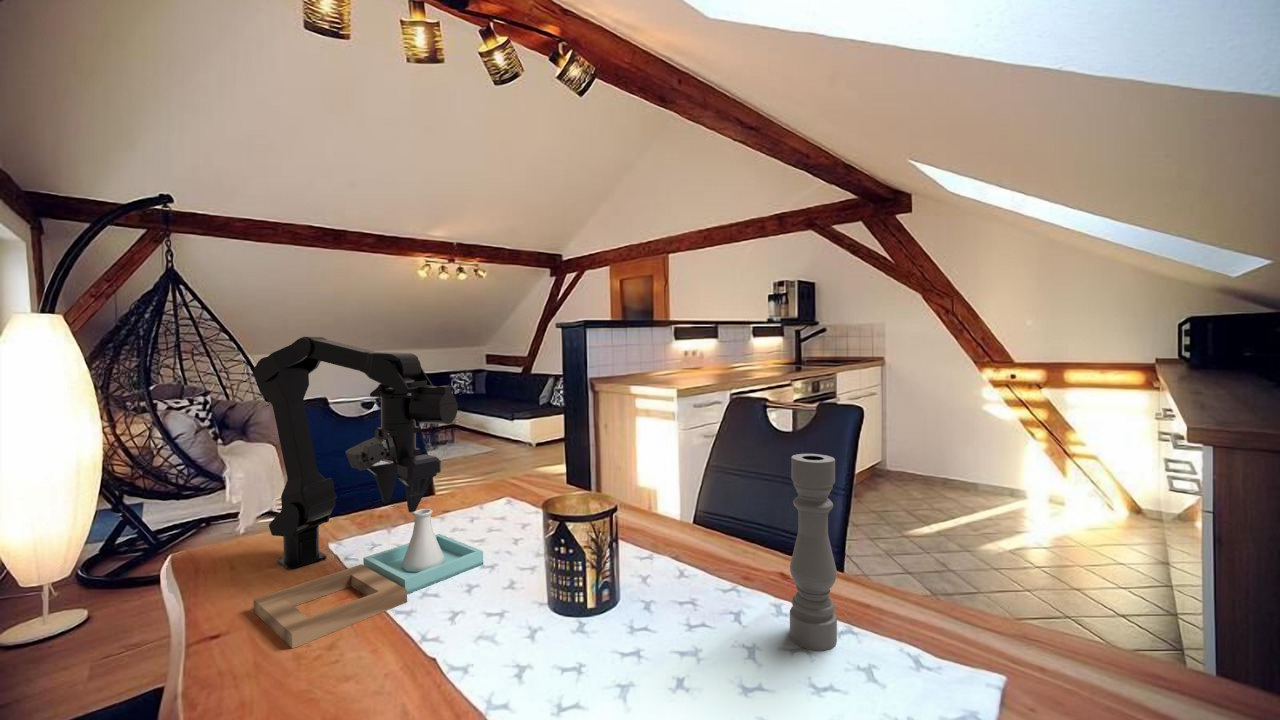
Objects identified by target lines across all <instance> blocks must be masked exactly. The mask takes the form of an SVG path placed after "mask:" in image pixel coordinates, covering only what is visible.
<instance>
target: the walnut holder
mask: <svg viewBox="0 0 1280 720" xmlns="http://www.w3.org/2000/svg"><path fill="white" fill-rule="evenodd" d="M350 587H352V588H353V589H355V590H357V591H358V592H359V593H361V594H363V595H364V596H363V597H361V598H358V599H354V600H352V601H349V602H347V603H344V604H342V605H339V606H337V607H333V608H330V609H328V610H326V611H323V612H320V613H318V614H315V615H312V616H309V617H308V616H307V615H305V614H304V613H303V612H302V611H300V610H299V608H297V606H299V605H302V604H305V603H308V602H311V601H313V600H316V599H319V598H321V597H322V598H323V597H325V596H327V595H330V594H333V593H336V592H339V591H342V590H346V589H348V588H350ZM406 603H408V594H407V589H405V588H403V587H401V586H399V585H398V584H396V583H394V582H392V581H390V580H389V579H387V578H385V577H383V576H381V575H380V574H378V573H376V572H374V571H372V570H371V569H369V568H367V567H365V566H363V564H358V565H355V566H352V567H349V568H347V569H343V570H340V571H337V572H334V573H331V574H328V575H324V576H322V577H321V576H320V577H318V578H315V579H311V580H309V581H306V582H302V583H300V584H297V585H293V586H291V587H288V588H284V589H281V590H279V591H275V592H272V593H268V594H266V595H265V594H264V595H263V596H259V597H257V598H253V612H254V614H255V615H256V616H257V617H259V618H260V619H261V620H262V621H263V622H264V623H265V624H266V625H267V626H268V627H269V628H270V629H271V630H272V631H273V632H274V633H275V634H277V636H278V637H280V639H282V640H283V642H284V643H286V644H287V645H288V646H289V647H290V648H291V649H296V648H297V647H300V646H302V645H305V644H307V643H310V642H312V641H315V640H317V639H320V638H322V637H325V636H327V635H330V634H333V633H334V632H337V631H339V630H342V629H344V628H347V627H349V626H351V625H355V624H357V623H359V622H361V621H364V620H368V619H369V618H371V617H374V616H376V615H378V614H381V613H384V612H386V611H388V610H391V609H393V608H395V607H396V608H397V607H399V606H401V605H403V604H406Z"/></svg>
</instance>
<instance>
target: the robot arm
mask: <svg viewBox="0 0 1280 720" xmlns="http://www.w3.org/2000/svg"><path fill="white" fill-rule="evenodd" d="M321 362H324V363H327V364H331V365H336V366H339V367H341V368H342V367H343V368H348V369H350V370H353V371H354V370H355V371H358V372H361V373H363V374H365V375H366V376H367V377H368V378H369V379H371V380H372V381H374V382H376V383H379V384H378V386H377V387H376V388H375V389H373V390H372V391H371V392H370V393H369V396H370V397H371V398H380V412H381V413H380V420H381V421H380V426H381V427H376V429H375V430H374V437H371V438H369V439H367V440H364V441H362V442H360V443H358V444H357V445H354V446H352V447H350V448H348V449H347V450H345V453H344V454H345V455H346V457H347V460H348V462H349V465H350V467H351V468H352V469H356V470H358V471H360V472H361V471H363V472H364V471H366V470H367V471H369V472H370V473H372V474H373V476H374V479H375V482H376V484H377V487H378V490H379V491H378V492H379V493H380V496H381V499H382V502H383V503H388V502H390V501H391V499H392V497H393V492H394V490H395V489H394V488H395V485H396V481H397V480H399V481H400V482H401V483H402V484H404V488H405V496H406V504H407V511H408V513H413V512H415V511H416V510H418V507H419V505H420V503H421V500H422V499H423V497H424V494H425V493H426V491H427V489H428V487H429V486H430V483H431V482H432V481H433V478H434V477H437V475H438V474H440V473H441V472H442V461H441V459H439V458H438V457H437V456H435V455H430V454H426V453H425V454H421V453H422V452H421V450H422V449H421V448H419V447H416V445H417V442H416V441H417V437H416V436H417V433H421V426H417V425H416V424H417V423H419V424H435V425H450V424H452V423H453V422H454V421H455V419H456V418H457V414H458V409H459V405H458V402H457V398H456V396H455V395H454V393H452V387H451V385H440V386H435V385H434V384H433V383H432V381H431V380H430V378H429V377H428V375H427V374H426V372H425V371H424V369H423V368H422V364H421V362H420V360H419V357H418V356H417V355H416V354H414V353H411V352H393V351H392V352H391V351H387V352H386V351H375V350H370V349H366V348H363V347H359V346H354V345H350V344H346V343H342V342H339V341H338V342H337V341H334V340H330V339H327V338H325V337H323V336H302V337H299V338H297V340H295V341H294V342H292V343H291V344H289V345H286V346H285V347H283V348H280V349H278V350H276V351H274V352H272V353H270V354H269V355H268V356H264V357H262V358H260V359H259V360H258V362H257V363H256V365H255V366H254V367H253V377H254V380H255V382H256V386H257V388H258V391H259V393H260V395H262V396H263V397H264V398H265V399H266V400H267V401H268V402H269V404H271V407H272V410H273V415H274V420H275V425H276V430H277V434H278V439H279V444H280V449H281V454H282V459H283V464H284V467H285V474H286V479H287V480H286V483H285V486H284V488H283V491H282V493H281V495H280V497H281V498H280V500H281V501H280V502H281V503H280V504H281V510H280V512H279V513H278V514H276V516H275V517H274V518H273V519H272V521H270V523H268V527H269V531H270V534H271V536H274V537H282V538H283V539H282V541H283V556H282V557H279V558H276V562H277V563H279V565H281V566H282V567H284V568H286V569H287V570H293V569H296V568H299V567H303V566H307V565H309V564H313V563H315V562H319V561H323V560H326V559H327V556H328V555H327V554H324V553H323V552H321V551H320V525H323V524H325V523H328V522H329V521H330V518H331V514H332V513H333V510H334V508H336V503H337V502H336V499H338V495H337V493H336V491H335V481H334V480H333V478H332V477H329V478H325V477H324V476H323V475H322V474H321V473H320V472H319V470H318V465H317V459H316V455H315V451H314V445H313V441H312V437H311V436H312V435H311V430H310V426H309V422H308V417H307V412H306V407H305V402H304V401H305V400H304V399H305V396H306V394H307V391H308V389H309V387H310V379H309V378H310V377H309V376H310V375H309V374H311V373H313V372H314V371H315V370H316V369H318V368H319V366H320V363H321ZM416 422H417V423H416ZM398 475H399V476H398Z"/></svg>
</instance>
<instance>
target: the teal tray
mask: <svg viewBox="0 0 1280 720" xmlns="http://www.w3.org/2000/svg"><path fill="white" fill-rule="evenodd" d="M435 537H436V539H437V542H438V544H439V546H440V548H441V551H442V553H443V555H444V557H445V560H446V561H445V562H443V563H442V564H440V565H437V566H434V567H432V568H429V569H426V570H424V571H421V572H411V571H406V570H405V569H403V568H402V567H401V565H402V562H403V559H404V557H405V554H406V551H407V549H408V546H409V543H410V542H409V543H405V544H402V545H399V546H397V547H393V548H390V549H386V550H384V551H380V552H377V553H374V554H371V555H368V556H365V557H363V558H362V559H363V560H362V561H363V564H362V565H363V566H365V567H367V568H369V569H371V570H372V571H374V572H376V573H378V574H380V575H381V576H383V577H385V578H387V579H389V580H390V581H392V582H394V583H396V584H398V585H399V586H401V587H403V588H405V589H407V595H408V594H412V593H414V592H417V591H420V590H422V589H424V588H426V587H427V588H428V587H429V586H432V585H434V584H437V583H440V582H443V581H444V580H447V579H450V578H452V577H455V576H457V575H460V574H462V573H465V572H467V571H470V570H472V569H475V568H478V567H480V566H482V565H484V551H483V550H482V549H480V548H476V547H474V546H471V545H468V544H466V543H465V542H461V541H459V540H456V539H454V538H452V537H448V536H447V535H443V534H441V533H438V534H435Z"/></svg>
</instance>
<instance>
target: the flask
mask: <svg viewBox="0 0 1280 720" xmlns="http://www.w3.org/2000/svg"><path fill="white" fill-rule="evenodd" d="M433 512H434V511H433V509H430V508H421V509H416V511H415V512H412V516H414V525H413V531H412V534H411V538H410V541H409V546H408V549H407V551H406V554H405V557H404V559H403V562H402V565H401V567H402V568H403V569H405V570H406V571H411V572H421V571H424V570H426V569H429V568H432V567H434V566H437V565H440V564H442V563H443V562H445V561H446V560H445V557H444V555H443V553H442V551H441V548H440V546H439V544H438V542H437V539H436V537H435V535H436V534H435V531H434V529H433V524H432V517H431V516H432V514H433Z"/></svg>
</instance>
